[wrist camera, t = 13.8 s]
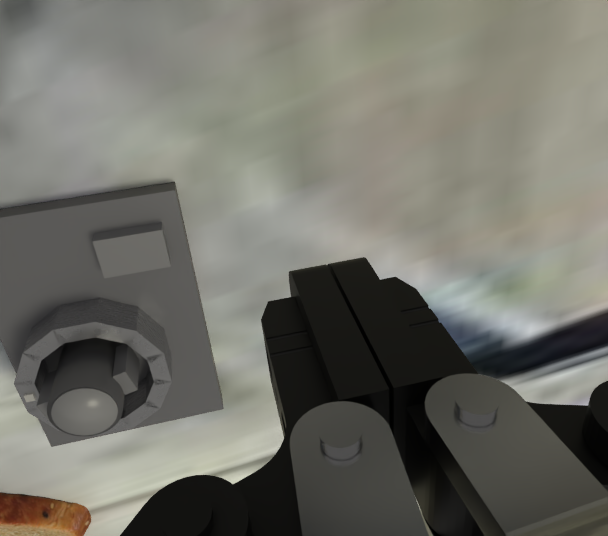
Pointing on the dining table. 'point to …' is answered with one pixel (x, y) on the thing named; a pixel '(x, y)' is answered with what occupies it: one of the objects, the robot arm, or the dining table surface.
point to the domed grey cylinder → (89, 386)
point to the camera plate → (110, 282)
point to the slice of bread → (41, 516)
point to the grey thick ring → (106, 325)
